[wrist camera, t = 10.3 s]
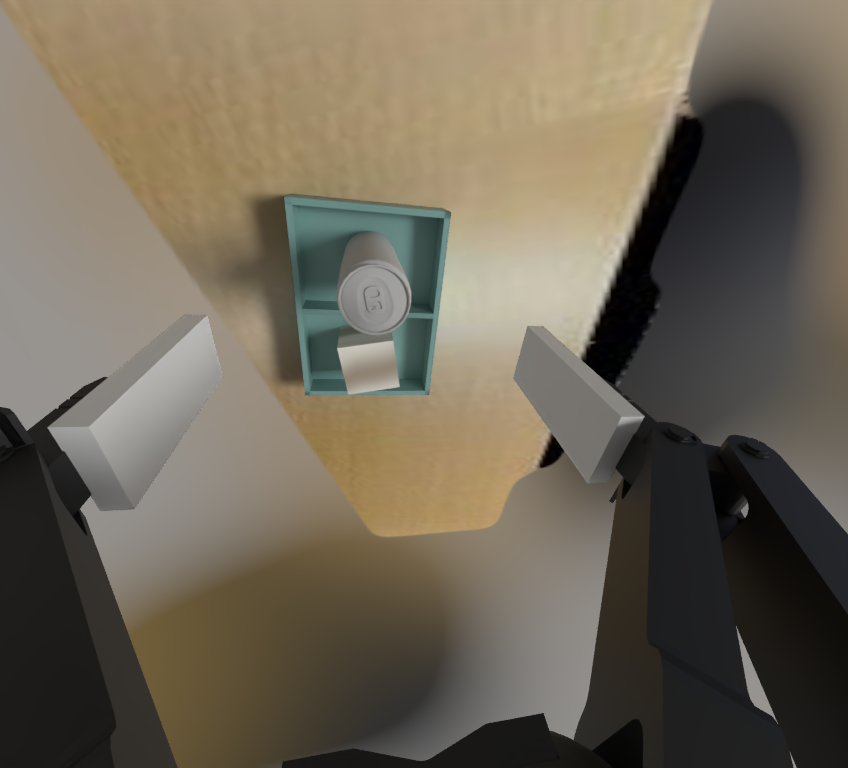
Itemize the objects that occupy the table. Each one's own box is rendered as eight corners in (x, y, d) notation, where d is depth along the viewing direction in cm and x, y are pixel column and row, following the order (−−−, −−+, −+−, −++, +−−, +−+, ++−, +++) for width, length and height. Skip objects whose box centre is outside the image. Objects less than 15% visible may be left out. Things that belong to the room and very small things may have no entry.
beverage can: (349, 287, 32) (344, 342, 22) (337, 233, 29) (326, 267, 20) (399, 280, 33) (416, 331, 23) (392, 226, 30) (408, 256, 20)
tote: (292, 194, 28) (284, 196, 25) (442, 208, 31) (451, 212, 28) (309, 378, 38) (305, 395, 35) (424, 378, 40) (429, 394, 37)
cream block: (340, 326, 34) (337, 348, 30) (389, 320, 34) (393, 340, 30) (350, 369, 37) (348, 394, 33) (395, 362, 37) (399, 387, 33)
